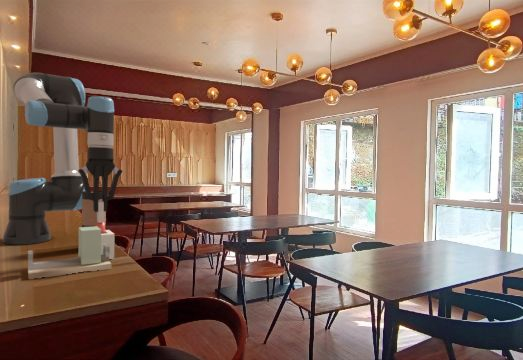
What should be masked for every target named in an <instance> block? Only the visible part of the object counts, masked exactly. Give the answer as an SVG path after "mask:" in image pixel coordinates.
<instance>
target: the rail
mask: <svg viewBox="0 0 523 360" xmlns="http://www.w3.org/2000/svg"><path fill="white" fill-rule="evenodd" d="M33 252H34V251H33V250H28V251H27V276H28V280H35V279H34V278H37V279H43V278H42V277H45V278H49V277H50V278H51V277H58V276H66V274H68V275H73V274H72V273H76V274H79V273H78V272H83V271H92V272H98V271H97V270H99V271H105V270H112V263H111V261H110V260H109V257H110V246H109V245H108V244H103V254H104V255H101V263H94V264H86V265H81V258H80V257H78V256H76V257H70V258H59V259H49V260H40V261H34V253H33Z"/></svg>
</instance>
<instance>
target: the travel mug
mask: <svg viewBox="0 0 523 360" xmlns="http://www.w3.org/2000/svg"><path fill="white" fill-rule="evenodd" d="M91 194H92V196H93V191H91ZM99 201H102V190H99ZM106 213H107V211H104V222H105V230H107V229H106V222H107V217H106V216H107V215H106ZM96 222H97V212H94V210H93V201H92V200H89V199H87V196H86V192H85V191H83V192H82V209H81V227H94V226H95V223H96Z"/></svg>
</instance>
